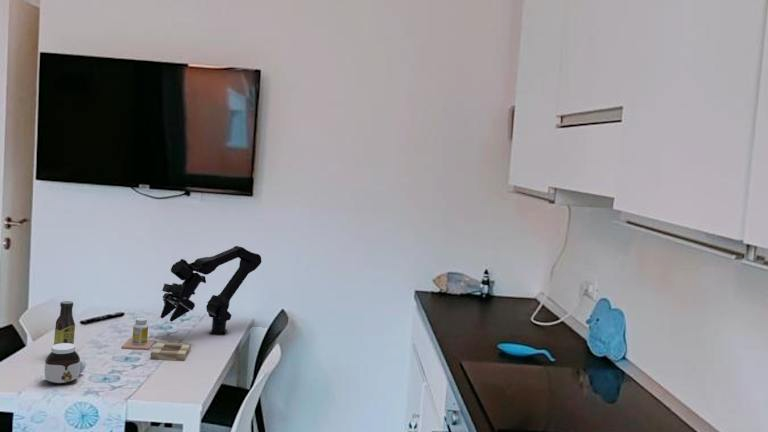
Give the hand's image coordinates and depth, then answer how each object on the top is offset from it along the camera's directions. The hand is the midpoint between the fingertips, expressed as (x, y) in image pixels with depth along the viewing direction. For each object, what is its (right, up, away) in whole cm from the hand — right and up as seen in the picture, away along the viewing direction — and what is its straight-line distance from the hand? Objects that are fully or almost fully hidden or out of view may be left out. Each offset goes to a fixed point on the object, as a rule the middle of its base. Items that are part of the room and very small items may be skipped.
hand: (165, 319), depth 246 cm
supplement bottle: (-9, -9, -5) cm, 13 cm away
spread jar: (-18, -12, -43) cm, 48 cm away
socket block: (+6, -11, -11) cm, 17 cm away
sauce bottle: (-28, -10, -25) cm, 38 cm away
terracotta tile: (-9, -9, -5) cm, 14 cm away
